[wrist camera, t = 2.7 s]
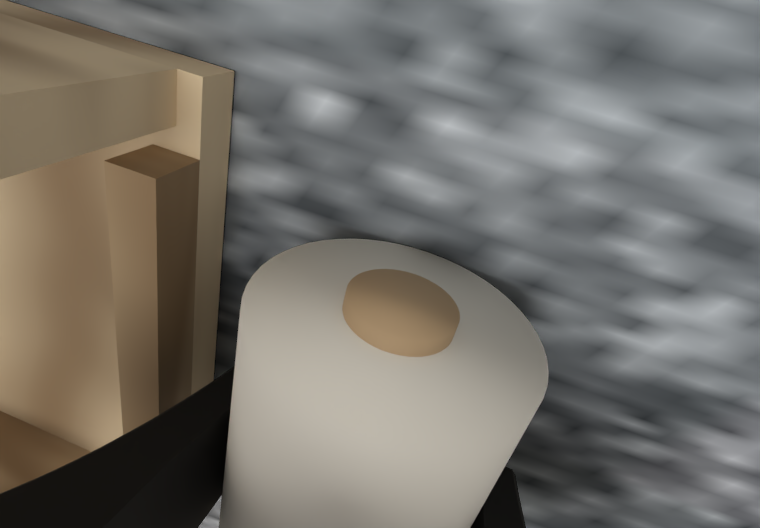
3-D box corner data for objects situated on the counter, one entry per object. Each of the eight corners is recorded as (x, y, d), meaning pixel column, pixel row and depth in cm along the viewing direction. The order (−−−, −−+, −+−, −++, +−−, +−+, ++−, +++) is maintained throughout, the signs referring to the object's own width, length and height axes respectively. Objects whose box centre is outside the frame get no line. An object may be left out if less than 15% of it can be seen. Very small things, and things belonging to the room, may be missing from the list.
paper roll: (424, 540, 14) (375, 764, 10) (272, 474, 14) (165, 657, 10) (553, 280, 9) (563, 496, 5) (321, 201, 10) (163, 334, 6)
